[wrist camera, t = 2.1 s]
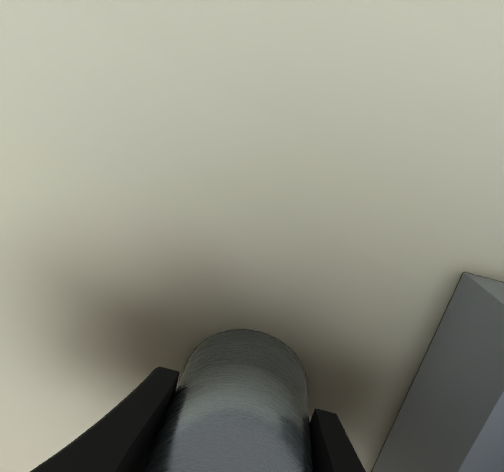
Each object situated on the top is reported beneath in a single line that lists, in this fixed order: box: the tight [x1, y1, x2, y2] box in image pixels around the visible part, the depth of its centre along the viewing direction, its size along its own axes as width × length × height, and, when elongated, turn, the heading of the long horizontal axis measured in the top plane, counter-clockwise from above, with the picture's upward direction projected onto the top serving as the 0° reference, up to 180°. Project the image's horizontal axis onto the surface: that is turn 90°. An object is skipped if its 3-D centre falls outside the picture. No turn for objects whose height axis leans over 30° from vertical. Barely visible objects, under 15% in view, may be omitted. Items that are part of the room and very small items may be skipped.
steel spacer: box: [141, 329, 313, 472], centre depth 9 cm, size 4×4×5 cm
